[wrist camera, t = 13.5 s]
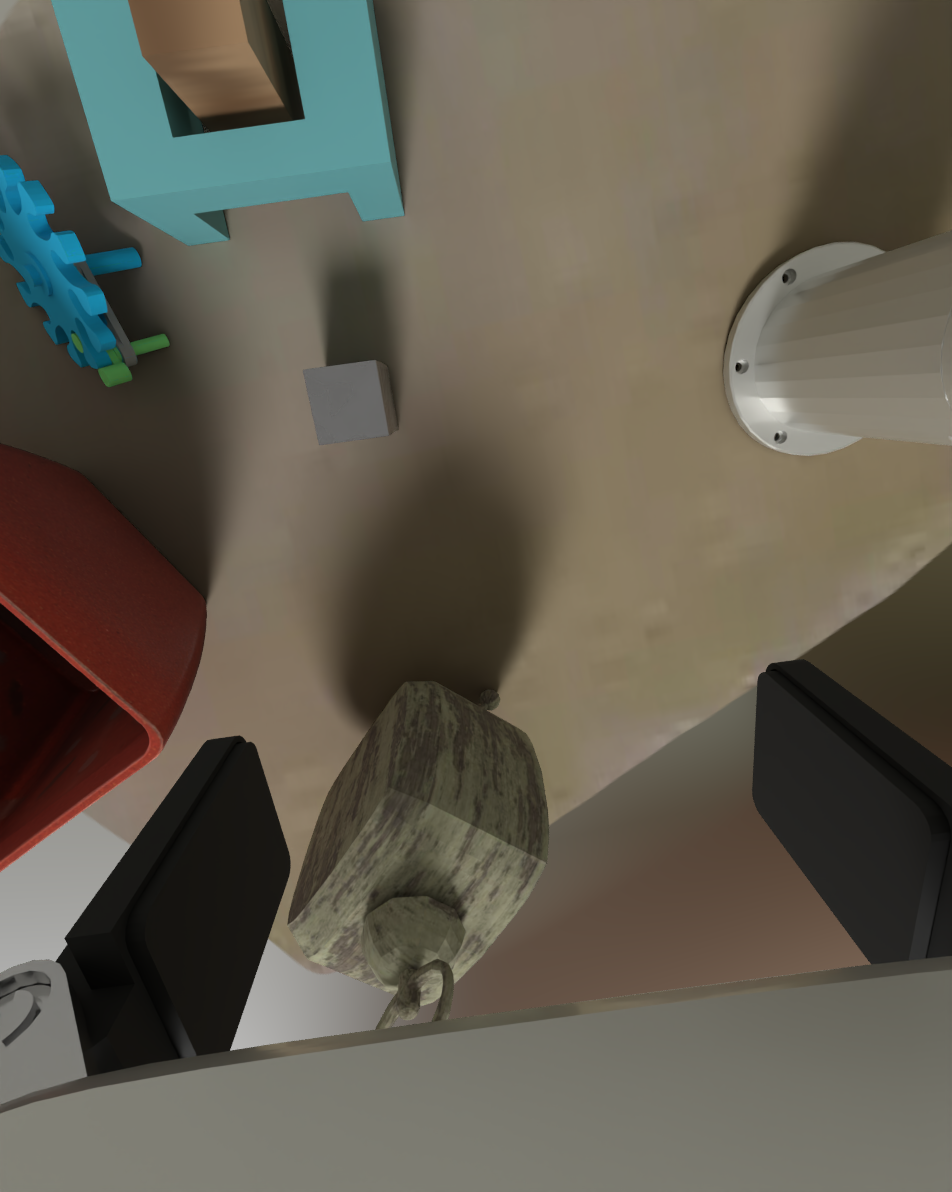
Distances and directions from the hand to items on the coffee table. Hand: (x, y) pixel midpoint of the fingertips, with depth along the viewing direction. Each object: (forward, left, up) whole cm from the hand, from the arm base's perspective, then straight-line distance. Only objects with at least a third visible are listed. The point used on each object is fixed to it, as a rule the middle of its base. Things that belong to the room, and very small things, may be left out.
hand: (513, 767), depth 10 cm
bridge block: (+8, -22, -30) cm, 38 cm away
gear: (+21, -15, -31) cm, 40 cm away
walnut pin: (+8, -22, -30) cm, 38 cm away
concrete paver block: (+6, -7, -30) cm, 32 cm away
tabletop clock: (+6, +18, -31) cm, 36 cm away
